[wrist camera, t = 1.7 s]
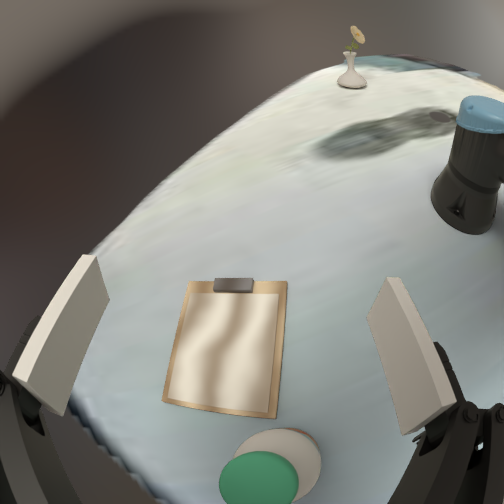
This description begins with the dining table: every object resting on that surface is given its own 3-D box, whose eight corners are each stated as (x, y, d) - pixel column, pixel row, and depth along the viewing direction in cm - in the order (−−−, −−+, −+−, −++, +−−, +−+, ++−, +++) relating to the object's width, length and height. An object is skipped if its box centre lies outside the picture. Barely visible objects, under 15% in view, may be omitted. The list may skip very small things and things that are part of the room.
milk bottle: (331, 462, 25) (351, 501, 9) (276, 491, 23) (231, 552, 8) (298, 417, 29) (281, 404, 14) (246, 445, 28) (171, 457, 13)
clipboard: (287, 283, 41) (286, 277, 40) (276, 418, 30) (274, 418, 28) (190, 283, 45) (186, 278, 44) (164, 401, 34) (157, 400, 32)
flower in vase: (351, 92, 80) (346, 28, 60) (331, 84, 87) (323, 25, 67) (375, 86, 81) (372, 27, 62) (355, 79, 88) (350, 23, 69)
